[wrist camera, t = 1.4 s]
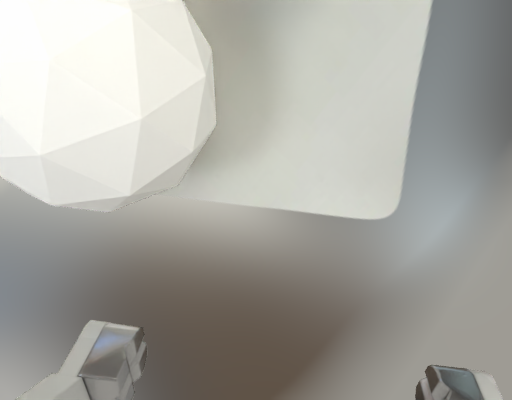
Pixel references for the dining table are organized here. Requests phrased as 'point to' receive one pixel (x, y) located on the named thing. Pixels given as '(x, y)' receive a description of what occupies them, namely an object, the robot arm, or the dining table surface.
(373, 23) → the dining table surface
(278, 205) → the dining table surface
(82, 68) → the geometric sculpture
